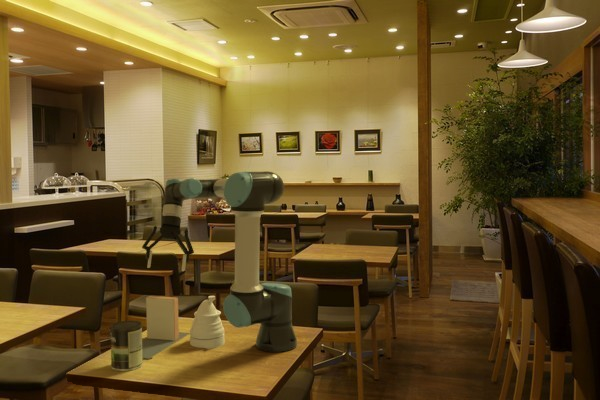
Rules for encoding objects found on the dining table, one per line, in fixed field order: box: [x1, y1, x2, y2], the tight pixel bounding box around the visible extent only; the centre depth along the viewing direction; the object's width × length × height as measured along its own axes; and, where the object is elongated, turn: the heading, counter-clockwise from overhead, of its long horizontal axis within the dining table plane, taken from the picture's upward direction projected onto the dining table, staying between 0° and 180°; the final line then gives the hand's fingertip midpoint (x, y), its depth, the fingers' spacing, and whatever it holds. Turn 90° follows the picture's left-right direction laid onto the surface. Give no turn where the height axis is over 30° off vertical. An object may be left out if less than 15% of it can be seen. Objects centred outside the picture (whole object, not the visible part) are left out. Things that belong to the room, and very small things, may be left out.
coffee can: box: [109, 320, 144, 372], centre depth 187 cm, size 10×10×14 cm
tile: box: [145, 295, 180, 341], centre depth 215 cm, size 3×12×16 cm, turn 73°
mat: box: [142, 331, 190, 360], centre depth 209 cm, size 30×14×1 cm, turn 164°
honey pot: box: [189, 295, 226, 350], centre depth 210 cm, size 13×13×18 cm
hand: (166, 269), depth 220 cm, fingers open, 13 cm apart
